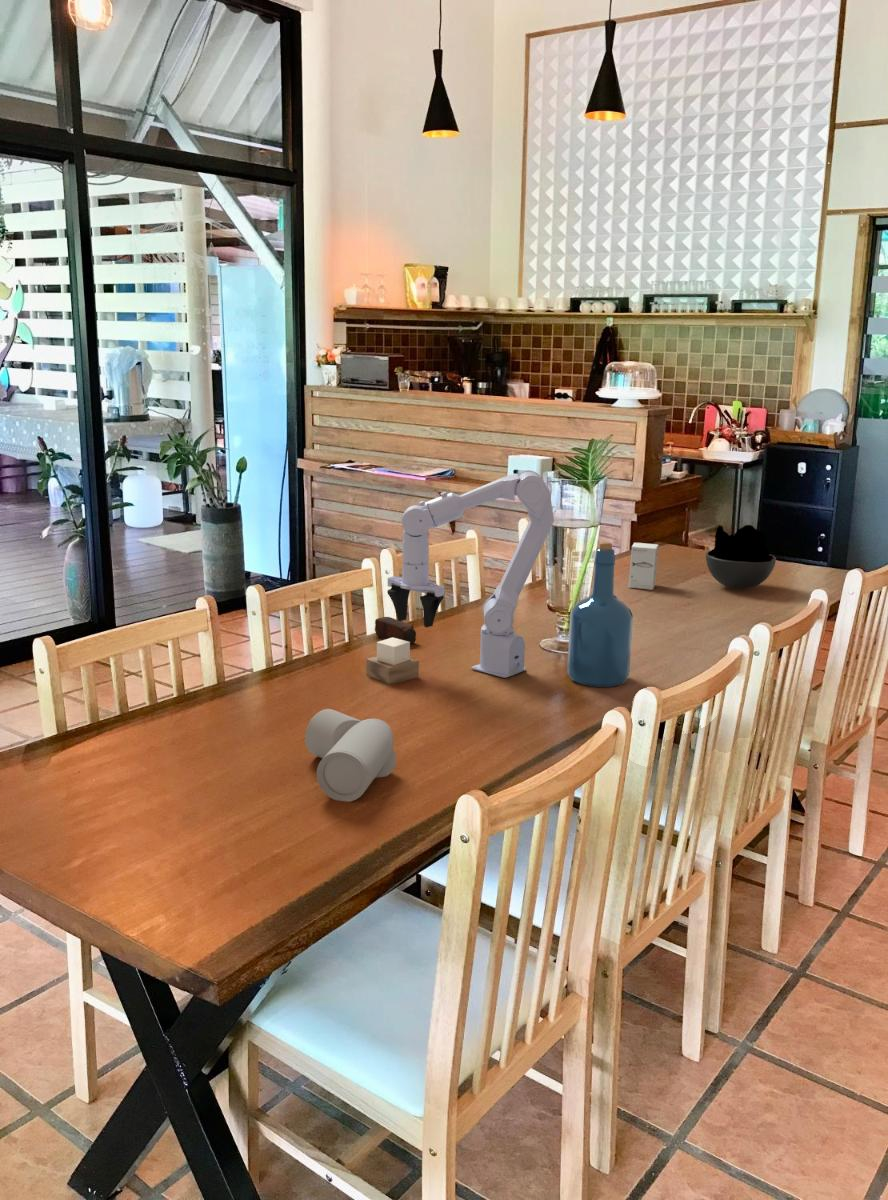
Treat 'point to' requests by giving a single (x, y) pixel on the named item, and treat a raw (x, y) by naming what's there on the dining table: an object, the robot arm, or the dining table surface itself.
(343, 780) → the grey cylindrical cross piece
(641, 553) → the supplement box
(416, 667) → the base
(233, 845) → the dining table surface
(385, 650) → the block
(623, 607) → the wine bottle
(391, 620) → the brick
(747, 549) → the coal bowl
